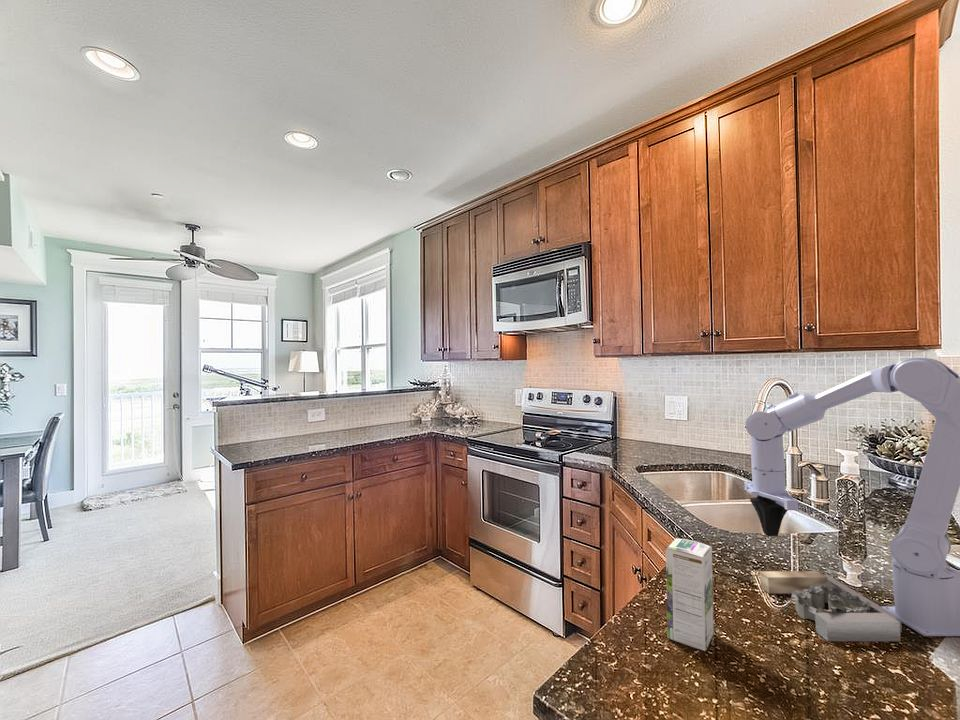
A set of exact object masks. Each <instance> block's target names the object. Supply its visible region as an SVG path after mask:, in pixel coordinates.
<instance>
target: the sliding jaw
mask: <svg viewBox="0 0 960 720" xmlns="http://www.w3.org/2000/svg"><path fill="white" fill-rule="evenodd" d="M759 574H760V576H759V579H760V588H761V589H762V590H764V591H765V592H766V593H768V594H792V592H793V591H794V590H797V591H802V590H804V589H808V588H810V587H811V586H813V587H814V588H815V587H816V586H820V585H822V584H824V583H826V582H828V577H826V576H825V575H826V574H823V573H821V572H819V571H817V570H815V571H814V570H811V571H810V570H807V571H806V570H803V571H802V570H801V571H797V570H796V571H795V570H793V571H792V570H790V571H788V570H787V571H786V570H785V571H783V570H782V571H780V570H778V571H776V570H775V571H774V570H773V571H765V570H763V571H759Z"/></svg>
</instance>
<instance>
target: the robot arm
mask: <svg viewBox="0 0 960 720" xmlns="http://www.w3.org/2000/svg"><path fill="white" fill-rule="evenodd" d="M895 392H896V393H897V392H900V393H902V394H904V395H905V396H908V397H909V398H911V399H913V400H915V401H917V402H918V403H920V404H921V405H922V406H923V407H924V408H925V409H926V410H927V411H928V412H929V414H930V415H932V416H933V417H934V418H935V423H934V426H933V430H932V433H931V437H930V440H929V444H928V447H927V451H926V454H925V457H924V460H923V464H922V468H921V471H920V475H919V477H918V478H919V479H918V481H917V485H916V488H915V492H914V496H913V499H912V502H911V507H910V510H909V512H908V515H907V517H906V519H905V523H904V524H903V525H902V526H901V527H900V528H899V531H898V533H897V535H895V536H894V537H893V538H892V540H891V541H890V544H889V549H890V553H891V555H892V559H891V567H892V568H891V569H892V581H893V582H892V583H893V584H892V585H893V599H894V600H893V601H894V603H893V605H894V606H886V605H885V606H883V605H882V606H880V607H882V608H884V609H885V610H887V611H889V612H890V613H892V614H894V615H895V616H897V617H899V618H900V619H901V622H902V624H903V625H905V626H907V627H908V628H910V629H912V630H914V632H917V633H918V634H920V635H921V636H924V637H960V570H958V569H955V568H952V567H951V566H950V565H949V563H948V562H947V561H946V560H947V556H948V555H949V553H950V552H951V549H952V544H951V541H950V538H949V535H948V528H949V524H950V520H951V517H952V514H953V510H954V508H955V503H956V500H957V497H958V494H959V491H960V375H959V374H958V373H957V372H955V371H954V370H953V369H951V367H949V366H947V365H946V364H945V363H943V362H942V361H940V360H937V359H935V358H928V357H911V358H906V359H903V360H901V361H899V362H898V363H892V364H889V365H884V366H881V367H878V368H875V369H872V370H869V371H868V370H867V371H866V372H864V373H862V374H859V375H857V376H855V377H853V378H851V379H849V380H847V381H845V382H842V383H840V384H838V385H835V386H833V387H831V388H829V389H827V390H825V391H822V392H820V393H818V394H811V393H809V392H808V393H807V392H803V393H800V394H799V392H794V393H791V394H789V396H788V397H789V398H788V399H786V400H784V401H782V402H779V403H777V404H775V405H773V404H768V405H767V406H765V407H766V410H758V411H754V412H753V413H752V414H750V415H749V416H748V417H747V418H746V420H745V429H746V431H747V433H748V434H749V435H750V456H751V457H750V458H751V459H750V460H751V461H750V462H751V479H752V480H751V481H744V482H743V483H744V491H746V492H747V494H749V495H753V496H754V495H755V496H756V497H751V498H750V499H749V501H750V503H751V505H752V506H753V507H754V510H755V512H756V514H757V516H758V519H759V522H760V525H761V528H762V531H763V534H764V535H765V536H767V537H778V536H779V533H780V530H781V529H780V528H781V525H782V521H783V520H784V517H785V515H786V514H787V512H788V511H799V501H798V500H797V499H796V498H794V497H793V496H792V495H790V493H789V492H787V491H786V472H785V471H786V470H785V454H784V453H785V451H784V449H785V448H784V439H783V438H784V437H783V436H784V434H786V432H787V433H788V432H789V433H790V432H793V431H795V430H798V429H800V428H803V427H806V426H808V425H811V424H813V423H816V422H818V421H821V420H823V419H824V417H825V414H826V411H827V410H829V409H832V408H834V407H836V406H839V405H843V404H846V403H847V402H850V401H853V400H856V399H858V398H862V397H865V396H867V395H870V394H872V393H885V394H886V393H889V394H890V393H891V394H892V393H895Z"/></svg>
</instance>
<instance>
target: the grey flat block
mask: <svg viewBox="0 0 960 720" xmlns="http://www.w3.org/2000/svg"><path fill="white" fill-rule="evenodd" d="M824 575H825V576H826V577H828V582H830V583H831V584H833V585H834V586H835V587H837V588H839V589H841V588H842V589H843V590H844V591H847V592H849V593H851V594H852V595H854V596H858V597H859V598H860V600H861V601H862V602H864V603H867V602H869V603H870V604H871V605H870V610H869V609H867V613H815V622H814V623H815V624H814V625H815V633H817V634H818V635H819V636H820V637H822V638H823V639H824V640H825V641H826V642H901V641H902V640H901V633H903V626H902V624H903V623H902V622H901V619H900V618H899V617H897V616H895V615H894V614H892V613H890V612H889V611H887V610H885V609H884V608H882V607H881V606H880V605H878V604H877V603H875V602H873V601H872V600H871V599H868V598H867V597H865V596H864V595H862V594H860V593H859V592H857V591H856V590H854V589H852V588H850V587H848V586H847V585H846V584H844V583H842V582H840V581H838V580H837V579H835V578H834V577H832V576H831V575H829V574H824Z"/></svg>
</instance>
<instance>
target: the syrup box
mask: <svg viewBox="0 0 960 720" xmlns="http://www.w3.org/2000/svg"><path fill="white" fill-rule="evenodd" d="M712 553H713V547H712V546H711V545H708V544H705V543H702V542H698V541H695V540H691V539H686V538H678V537H677V538H675V539H674V540H673V541H672V542H671V544H669V545H668V547H666V549H665V574H666V575H665V577H666V579H665V581H666V582H665V583H666V584H665V585H666V586H665V587H666V626H667V627H666V633H667V634H666V636H667V638H668V639H669V640H672V641H673V642H678V643H680V644H683V645H686V646H687V647H688V646H689V647H692V648H694V649H698V650H700V651H704V652H707V651H708V648H709V646H710V643H711V641H712V638H713V637H714V636H715V635H714V633H715V621H714V579H713V577H714V576H713V554H712Z"/></svg>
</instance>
